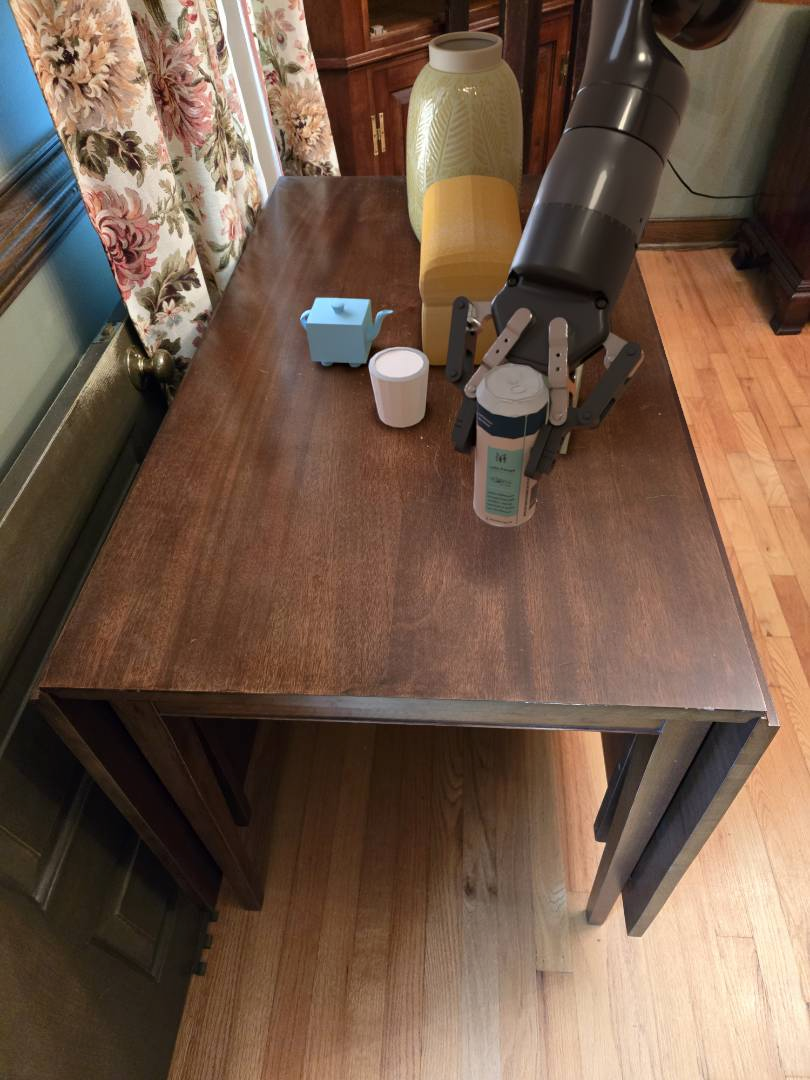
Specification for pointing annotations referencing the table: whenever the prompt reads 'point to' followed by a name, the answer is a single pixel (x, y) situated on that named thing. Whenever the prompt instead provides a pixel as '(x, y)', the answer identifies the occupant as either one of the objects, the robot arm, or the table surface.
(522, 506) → the beer can
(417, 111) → the vase
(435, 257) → the bread
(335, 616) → the table surface
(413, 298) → the table surface
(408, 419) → the white cup
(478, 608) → the table surface
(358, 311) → the teapot
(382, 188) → the table surface
